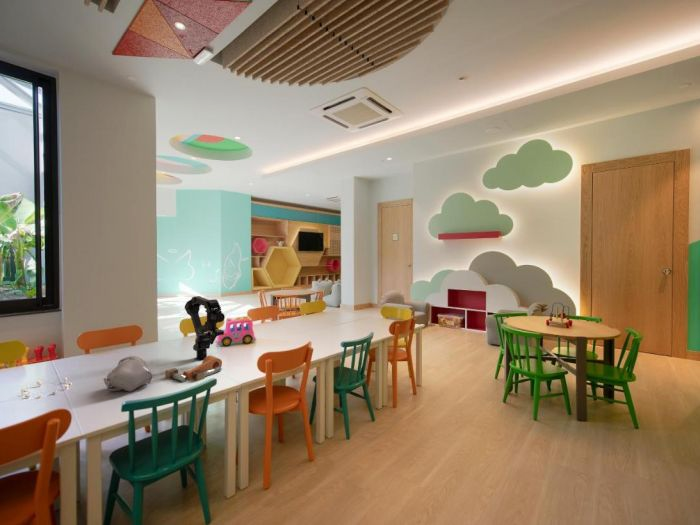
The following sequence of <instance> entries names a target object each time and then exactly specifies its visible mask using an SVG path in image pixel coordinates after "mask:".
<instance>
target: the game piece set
mask: <svg viewBox="0 0 700 525" xmlns="http://www.w3.org/2000/svg"><path fill="white" fill-rule="evenodd" d="M57 382H58V380H56V381H55V382H54V381H53V382H52V383H51V384H52V385H54V384H57ZM63 382H64V383H65V385H63V387H64V391H68V390H69V389H70V388H69V387H70V386H72V385H73V383H72V382H69V383H68V377H64V378H63ZM66 383H68V384H66ZM36 384H37V386H38V388H40V387H42V386H43V384H42V381H40V380H38V381H37V382H36ZM29 387H30V386H29V385H28V386H27V387H26V388H25V389H23V388H22V389H20V391H21V394H19V395H18V397H24V398H25V399H29V398H30V396H31V395H30V390H29ZM25 392H28V393H27V394H26V393H25ZM57 393H58V390H57V389H55V390H54V391H52V393H51V394H52V395H53V394H54V395H56V394H57ZM42 398H43V393H40V394H39V393H38V395H37V399H42Z"/></svg>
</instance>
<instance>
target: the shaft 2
mask: <svg viewBox="0 0 700 525" xmlns="http://www.w3.org/2000/svg"><path fill="white" fill-rule="evenodd" d="M221 371H222V366H218V367H215V368H212V369H209V370H206V371H201V370H197V371H194V372H192V379H191V380H194V381H196V382H199V381H201V380H204V379H205V377H208V376H211V375H215V374H216V373H219V372H221Z"/></svg>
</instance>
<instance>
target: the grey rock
mask: <svg viewBox="0 0 700 525" xmlns="http://www.w3.org/2000/svg"><path fill="white" fill-rule="evenodd" d="M152 379H153V374H152V372H150V370H149V369H148V367H147V363H146V361H145V360H144V359H143V358H142V357H140V356H136V355H134V356H133V355H131V356H126V357H124V358H121V359H119V361H118V363H117V366H116V367H115V368H114V369H113V370H112V371H110V372H109V373H108V374H107V375H106V377H104V378H103V382H104V384H105V385H106V387H107V388H106V390H107V391H110V392H119V391H122V390H124V391H126V392H133V391H134V390H136V389H138V388H139V387H142V386H143V385H147V384H149V385H151V382H152Z"/></svg>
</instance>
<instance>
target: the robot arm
mask: <svg viewBox="0 0 700 525" xmlns="http://www.w3.org/2000/svg"><path fill="white" fill-rule="evenodd" d="M201 306H203V308H204V309H206V310H204V311H205V313H206V321H204V324H203V323H202V320H201V317H200V314H199V313H200V309H201V308H200V307H201ZM184 309H185V311H186V313H187V315H189V316H190V319H191V321H192V326H193V329H194V332H195V336H196V337H195V340H194V342H195V343H194V345H193V346H192V348H193V349H192V350H193V351H195V353H196V355H195V356H196V357H194V360H197V361H203V360H204V358H205V357H207V356H208V354H207V353H208V351H207V349H210V345H214V343H215V340H216V338H217V337H218V336H219V337H220V336H223V335H225V330H223V329H221V328H220V329H219V327H218V326H217V324H218V323H222V322H223V321H224V320H225V317H226V316H225V314H224V312H223V311H222V307H221V305H220V302H219V301H218V299H209V298H205V297H202V296H201V295H200V296H199V295H197V296H192V297H191V299H188V301H186V303H185V305H184Z"/></svg>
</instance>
